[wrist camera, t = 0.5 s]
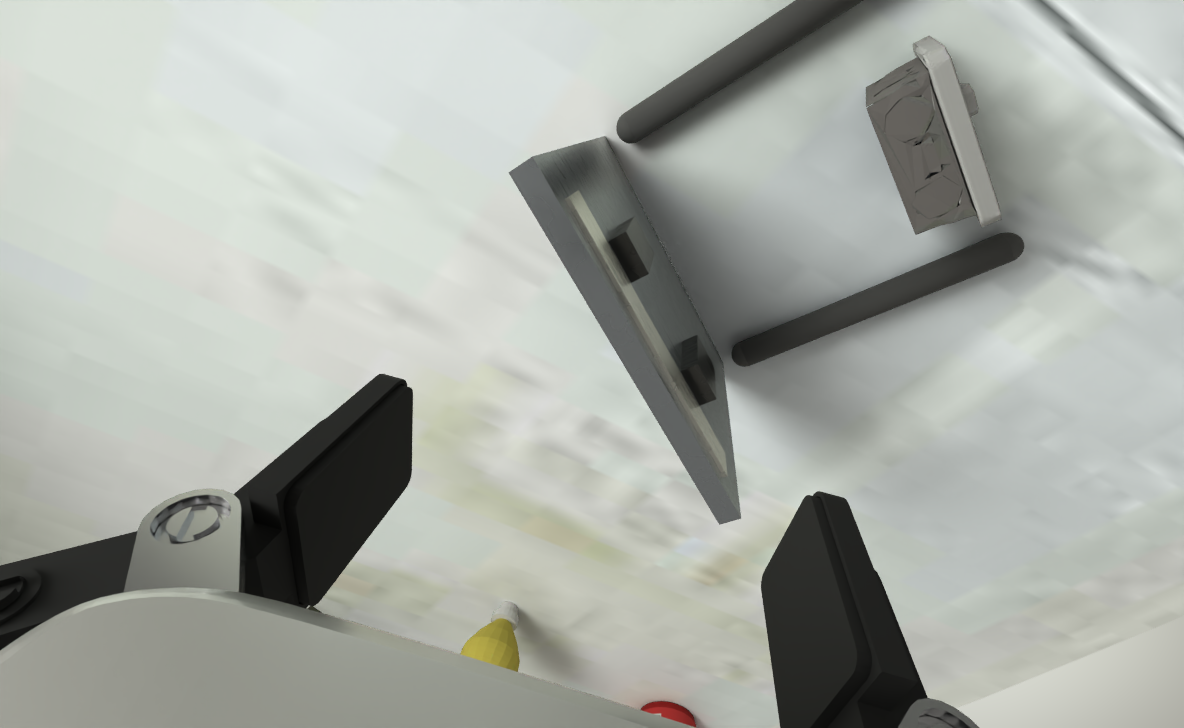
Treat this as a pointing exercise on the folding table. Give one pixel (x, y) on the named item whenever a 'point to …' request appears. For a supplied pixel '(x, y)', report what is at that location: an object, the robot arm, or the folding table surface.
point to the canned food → (670, 712)
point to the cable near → (729, 65)
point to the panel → (638, 305)
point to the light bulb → (497, 639)
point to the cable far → (881, 298)
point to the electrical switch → (932, 140)
